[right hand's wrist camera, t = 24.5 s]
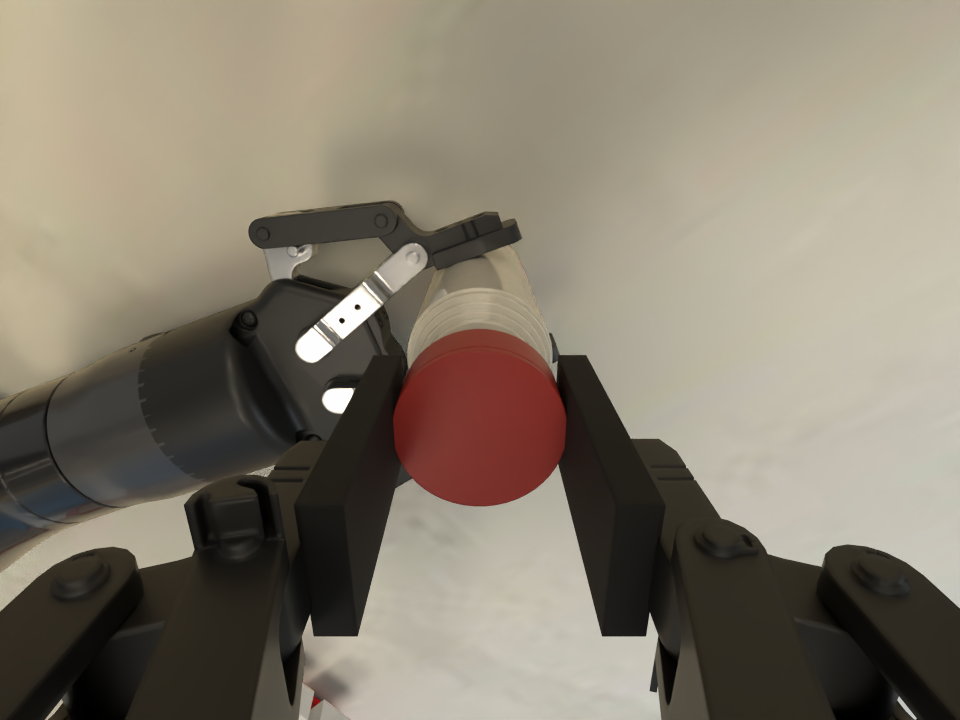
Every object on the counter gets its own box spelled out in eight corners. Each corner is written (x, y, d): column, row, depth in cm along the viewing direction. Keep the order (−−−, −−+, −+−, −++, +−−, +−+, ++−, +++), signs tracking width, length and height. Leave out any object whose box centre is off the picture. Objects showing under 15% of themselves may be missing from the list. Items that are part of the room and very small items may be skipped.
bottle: (515, 326, 30) (553, 509, 15) (431, 314, 30) (377, 487, 14) (530, 241, 29) (593, 344, 13) (441, 227, 28) (394, 315, 13)
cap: (567, 455, 15) (578, 492, 13) (422, 479, 15) (415, 519, 14) (544, 313, 14) (554, 335, 12) (384, 344, 14) (371, 369, 12)
